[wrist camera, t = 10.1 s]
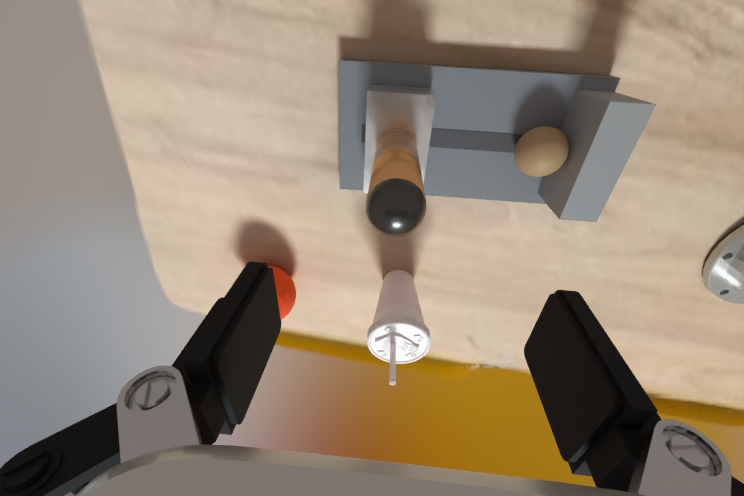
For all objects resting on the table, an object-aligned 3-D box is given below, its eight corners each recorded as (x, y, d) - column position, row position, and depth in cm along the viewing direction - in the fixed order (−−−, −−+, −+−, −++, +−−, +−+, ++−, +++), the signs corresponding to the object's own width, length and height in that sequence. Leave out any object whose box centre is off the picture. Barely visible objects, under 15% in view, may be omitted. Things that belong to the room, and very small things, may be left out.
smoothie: (378, 256, 38) (369, 355, 27) (431, 266, 38) (445, 368, 27) (368, 295, 42) (357, 398, 30) (417, 304, 42) (424, 409, 30)
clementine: (262, 304, 44) (242, 347, 38) (229, 267, 41) (201, 307, 35) (312, 287, 42) (298, 330, 36) (281, 246, 38) (260, 286, 32)
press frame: (610, 75, 26) (664, 88, 21) (559, 198, 33) (590, 232, 27) (341, 58, 27) (327, 66, 22) (341, 182, 33) (331, 212, 28)
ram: (432, 88, 26) (463, 143, 14) (419, 181, 31) (433, 286, 18) (370, 84, 26) (345, 135, 14) (366, 177, 31) (345, 279, 18)
